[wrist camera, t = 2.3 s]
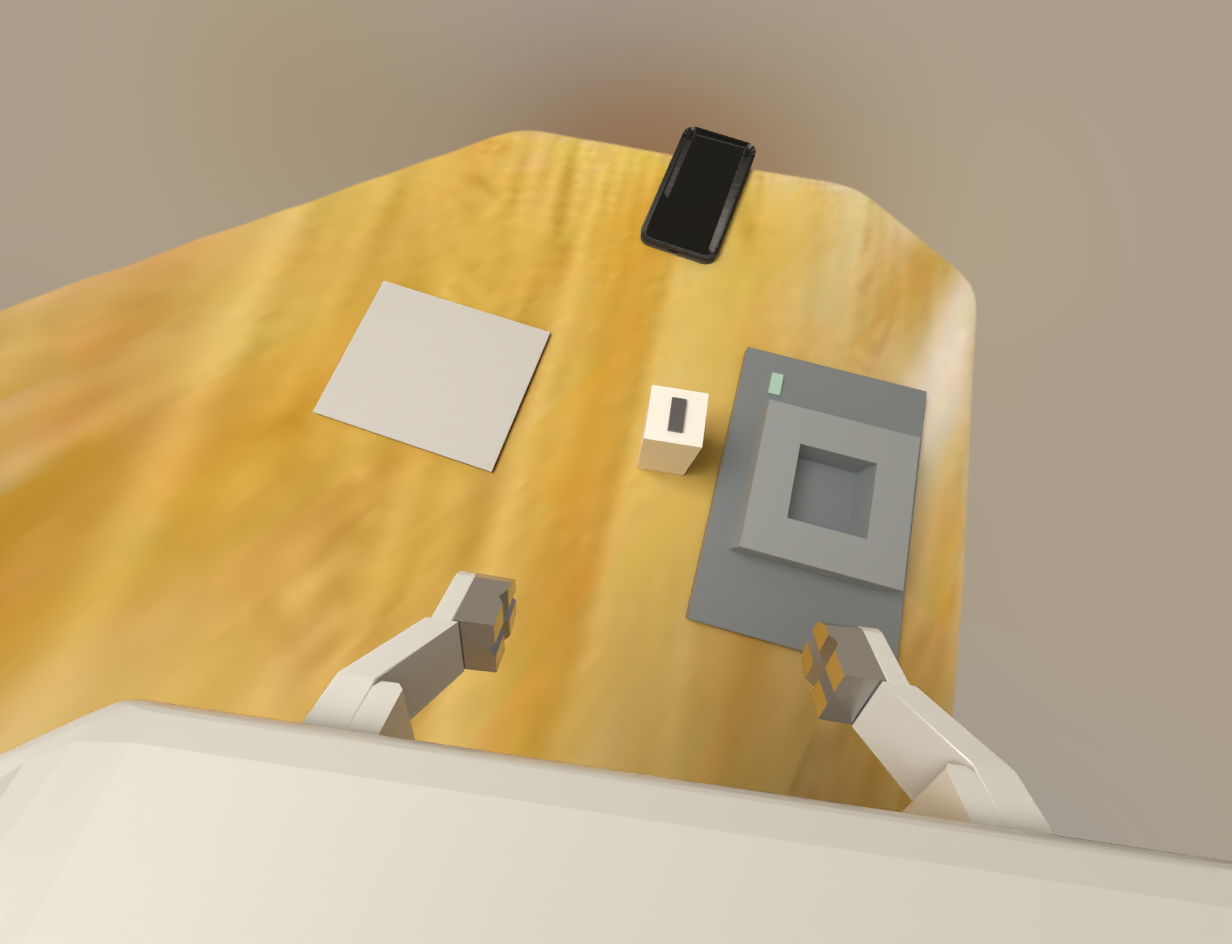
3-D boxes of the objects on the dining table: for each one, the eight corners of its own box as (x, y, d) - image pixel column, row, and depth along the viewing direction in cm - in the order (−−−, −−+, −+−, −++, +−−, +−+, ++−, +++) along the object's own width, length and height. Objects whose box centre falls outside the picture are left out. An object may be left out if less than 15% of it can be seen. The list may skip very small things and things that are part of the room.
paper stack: (428, 208, 44) (425, 202, 44) (666, 278, 43) (667, 273, 42) (317, 414, 39) (312, 411, 38) (584, 504, 37) (584, 503, 37)
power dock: (887, 674, 34) (922, 686, 30) (685, 617, 35) (694, 621, 31) (918, 396, 40) (952, 376, 36) (744, 352, 41) (758, 328, 37)
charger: (683, 475, 38) (703, 446, 30) (636, 467, 38) (644, 437, 30) (688, 431, 39) (709, 391, 31) (643, 424, 39) (652, 383, 31)
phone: (758, 145, 46) (714, 261, 42) (754, 155, 47) (711, 269, 43) (685, 123, 46) (636, 236, 43) (684, 134, 47) (635, 244, 44)
